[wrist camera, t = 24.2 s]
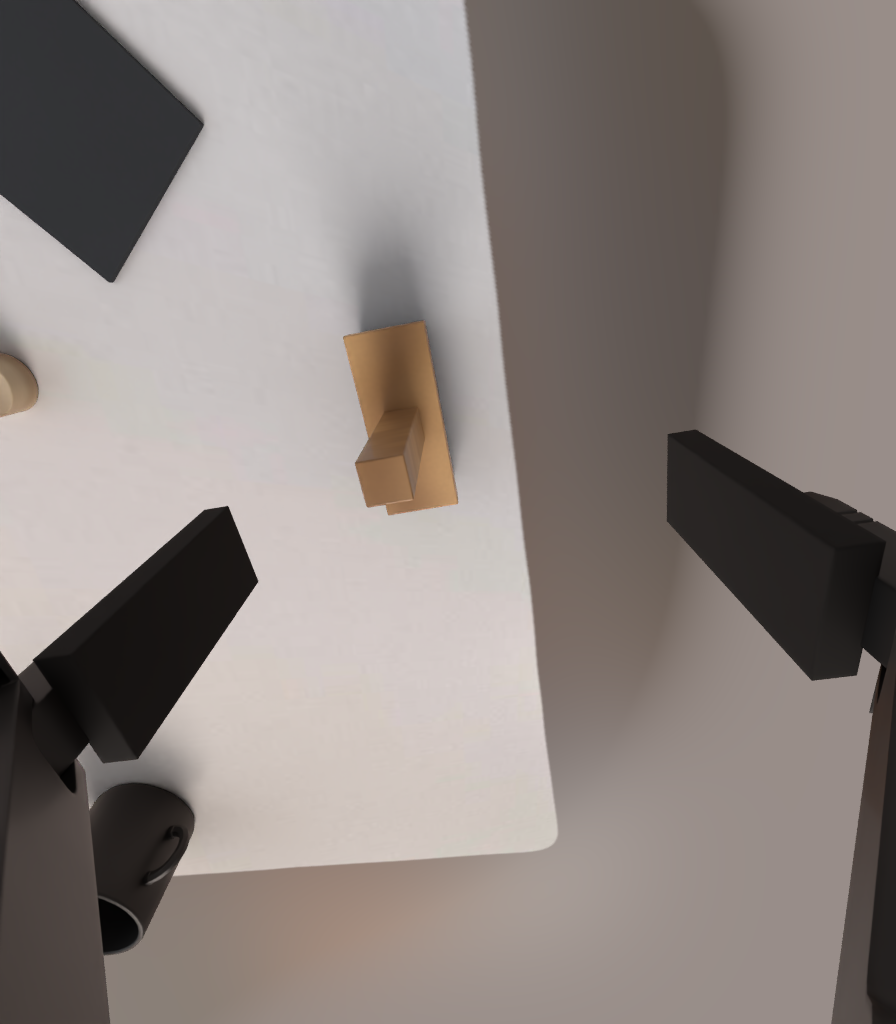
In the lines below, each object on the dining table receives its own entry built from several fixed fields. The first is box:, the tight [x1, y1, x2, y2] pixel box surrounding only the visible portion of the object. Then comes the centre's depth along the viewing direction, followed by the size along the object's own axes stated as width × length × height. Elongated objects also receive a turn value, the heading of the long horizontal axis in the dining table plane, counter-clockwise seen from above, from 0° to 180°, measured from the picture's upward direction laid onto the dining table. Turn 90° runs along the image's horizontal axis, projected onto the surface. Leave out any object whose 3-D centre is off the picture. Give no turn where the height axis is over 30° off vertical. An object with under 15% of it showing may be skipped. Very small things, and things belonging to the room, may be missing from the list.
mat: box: [0, 0, 204, 282], centre depth 25 cm, size 10×10×1 cm
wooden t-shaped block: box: [343, 320, 458, 515], centre depth 25 cm, size 4×11×13 cm, turn 10°
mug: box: [89, 784, 194, 955], centre depth 43 cm, size 9×12×9 cm
